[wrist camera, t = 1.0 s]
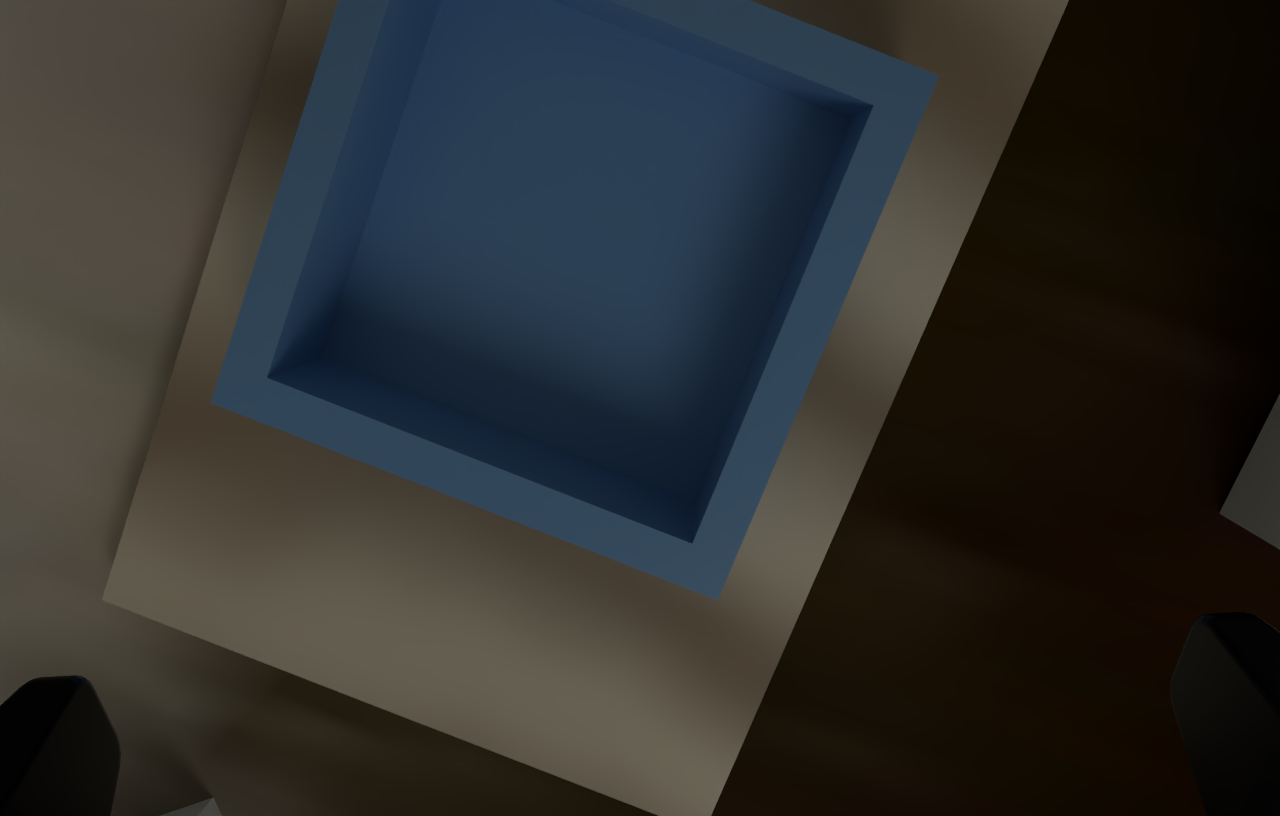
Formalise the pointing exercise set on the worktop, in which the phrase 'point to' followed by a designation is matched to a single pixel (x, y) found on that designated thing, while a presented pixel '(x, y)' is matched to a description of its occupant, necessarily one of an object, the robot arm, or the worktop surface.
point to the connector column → (1259, 485)
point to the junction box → (571, 257)
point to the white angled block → (198, 809)
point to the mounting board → (522, 556)
